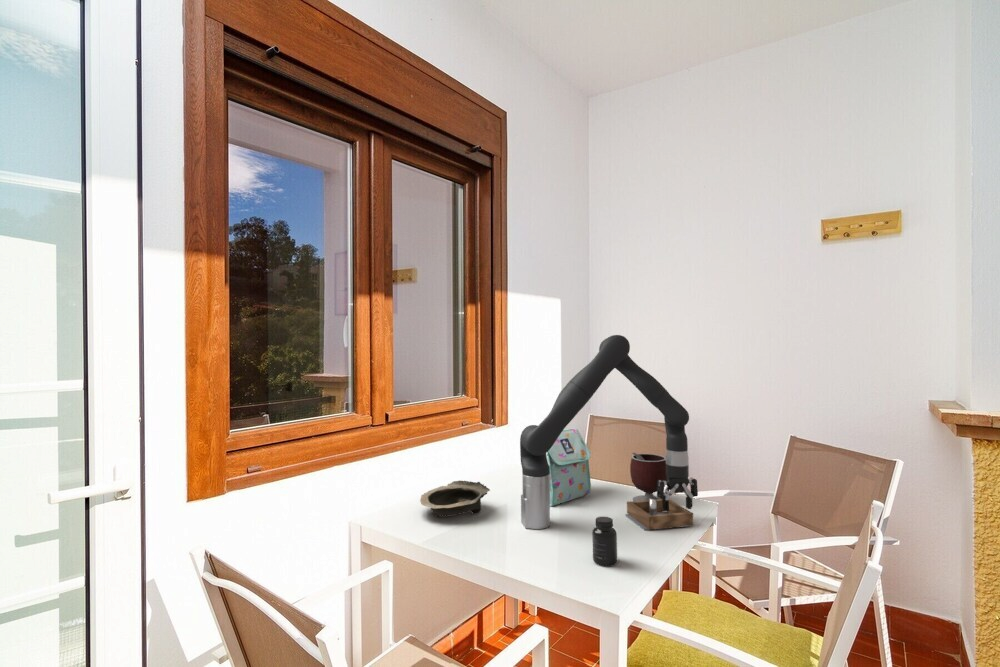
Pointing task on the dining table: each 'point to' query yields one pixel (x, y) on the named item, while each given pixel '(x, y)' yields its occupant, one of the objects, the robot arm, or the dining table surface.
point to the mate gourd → (647, 473)
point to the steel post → (652, 506)
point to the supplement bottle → (604, 542)
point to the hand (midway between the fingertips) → (677, 509)
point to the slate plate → (639, 522)
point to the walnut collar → (660, 515)
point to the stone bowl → (455, 498)
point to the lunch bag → (568, 467)
